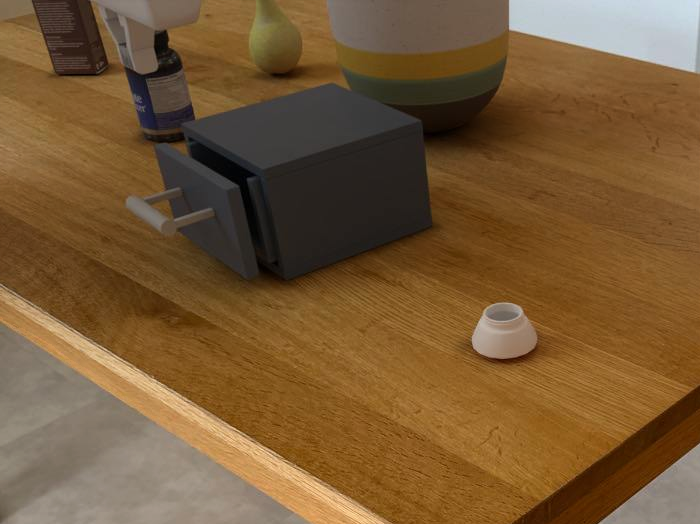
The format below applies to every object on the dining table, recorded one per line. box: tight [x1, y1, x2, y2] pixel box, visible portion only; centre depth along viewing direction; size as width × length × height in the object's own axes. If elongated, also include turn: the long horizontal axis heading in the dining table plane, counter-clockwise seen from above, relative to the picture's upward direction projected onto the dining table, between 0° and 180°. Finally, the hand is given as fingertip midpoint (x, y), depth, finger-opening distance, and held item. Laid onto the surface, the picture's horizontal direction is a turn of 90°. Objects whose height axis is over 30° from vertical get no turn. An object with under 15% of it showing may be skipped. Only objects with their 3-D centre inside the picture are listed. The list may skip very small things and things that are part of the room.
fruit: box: [248, 0, 303, 75], centre depth 127 cm, size 7×8×12 cm
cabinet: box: [181, 82, 433, 281], centre depth 92 cm, size 16×15×10 cm
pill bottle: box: [123, 29, 197, 143], centre depth 112 cm, size 6×6×11 cm
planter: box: [325, 0, 510, 134], centre depth 109 cm, size 20×20×21 cm
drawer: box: [125, 140, 278, 281], centre depth 89 cm, size 20×14×8 cm
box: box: [30, 0, 110, 75], centre depth 131 cm, size 6×4×12 cm
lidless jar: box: [471, 302, 538, 360], centre depth 77 cm, size 5×3×5 cm
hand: (141, 69), depth 78 cm, fingers closed
